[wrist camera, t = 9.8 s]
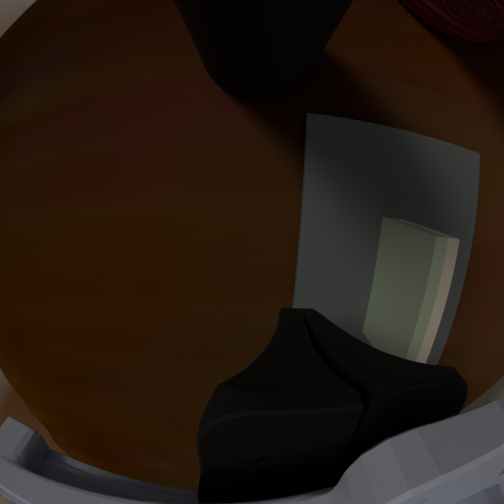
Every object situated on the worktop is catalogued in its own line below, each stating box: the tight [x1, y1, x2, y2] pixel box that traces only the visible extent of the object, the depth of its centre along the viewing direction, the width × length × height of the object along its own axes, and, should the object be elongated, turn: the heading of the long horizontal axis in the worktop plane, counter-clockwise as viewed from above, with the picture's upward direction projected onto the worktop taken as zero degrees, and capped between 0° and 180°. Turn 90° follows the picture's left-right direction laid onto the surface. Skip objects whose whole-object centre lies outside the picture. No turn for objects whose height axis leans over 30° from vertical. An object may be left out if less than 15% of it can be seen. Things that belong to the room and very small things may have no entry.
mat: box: [292, 113, 480, 365], centre depth 17 cm, size 18×14×1 cm
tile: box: [363, 217, 460, 363], centre depth 14 cm, size 2×8×6 cm, turn 177°
